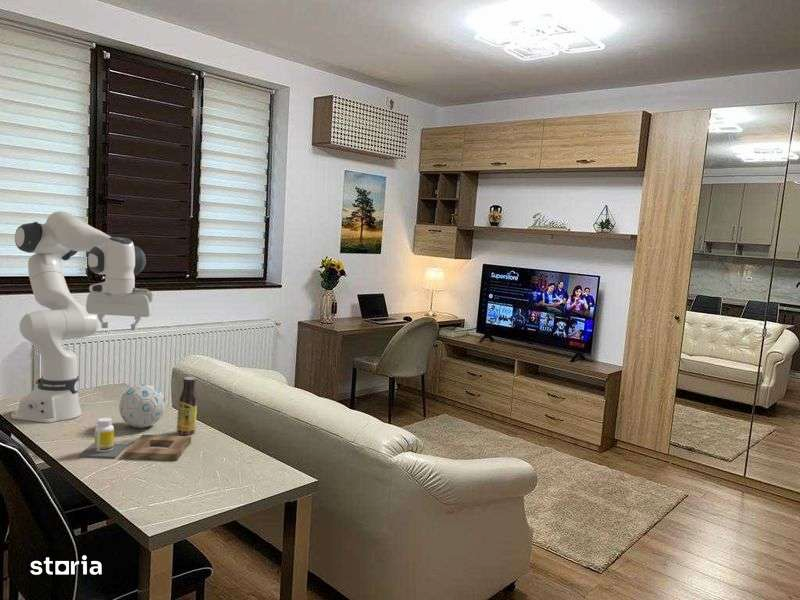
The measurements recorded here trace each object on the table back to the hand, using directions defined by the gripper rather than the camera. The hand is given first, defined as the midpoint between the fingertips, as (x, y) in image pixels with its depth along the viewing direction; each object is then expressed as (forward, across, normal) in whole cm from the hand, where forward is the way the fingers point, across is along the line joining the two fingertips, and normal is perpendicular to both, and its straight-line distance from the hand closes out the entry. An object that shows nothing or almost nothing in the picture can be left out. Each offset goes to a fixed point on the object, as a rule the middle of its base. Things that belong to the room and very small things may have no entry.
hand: (119, 328), depth 202 cm
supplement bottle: (+37, -1, +13) cm, 39 cm away
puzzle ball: (+37, -4, -12) cm, 39 cm away
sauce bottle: (+37, -21, -7) cm, 43 cm away
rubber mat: (+37, -1, +13) cm, 39 cm away
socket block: (+37, -17, +10) cm, 42 cm away
